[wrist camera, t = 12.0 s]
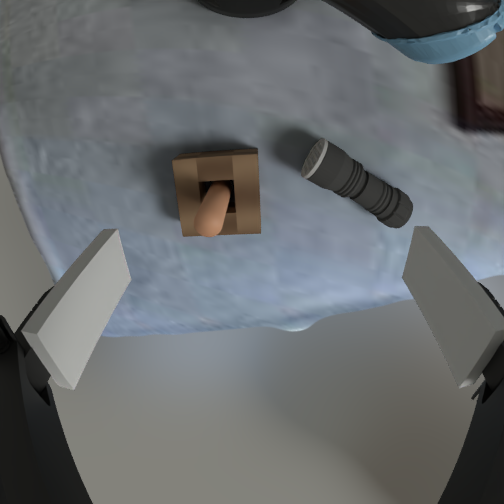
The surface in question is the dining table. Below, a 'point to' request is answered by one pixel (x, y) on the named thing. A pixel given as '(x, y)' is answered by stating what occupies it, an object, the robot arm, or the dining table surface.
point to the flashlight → (356, 184)
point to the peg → (213, 209)
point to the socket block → (212, 169)
